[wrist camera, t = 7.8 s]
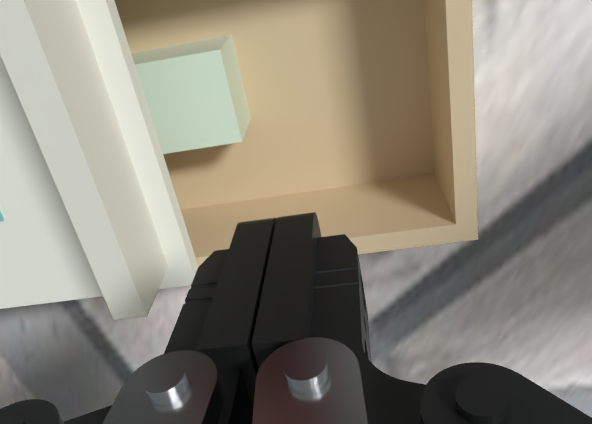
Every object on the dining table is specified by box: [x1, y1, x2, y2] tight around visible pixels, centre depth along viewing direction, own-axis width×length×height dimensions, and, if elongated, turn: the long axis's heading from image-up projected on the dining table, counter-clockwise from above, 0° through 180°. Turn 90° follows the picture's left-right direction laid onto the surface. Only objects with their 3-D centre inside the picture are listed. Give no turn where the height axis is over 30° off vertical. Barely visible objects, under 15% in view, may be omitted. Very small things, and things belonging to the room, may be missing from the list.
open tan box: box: [114, 0, 478, 267], centre depth 21 cm, size 18×13×5 cm
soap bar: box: [131, 35, 251, 154], centre depth 22 cm, size 5×4×3 cm
